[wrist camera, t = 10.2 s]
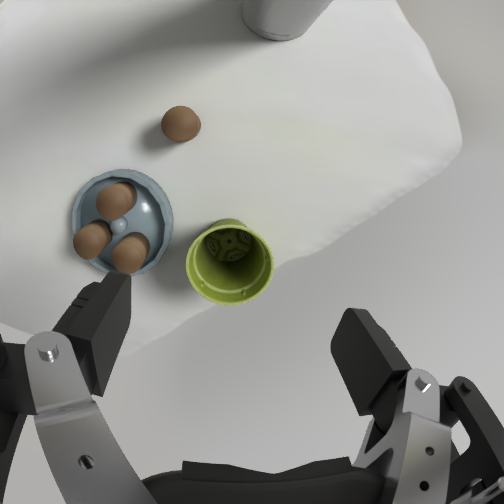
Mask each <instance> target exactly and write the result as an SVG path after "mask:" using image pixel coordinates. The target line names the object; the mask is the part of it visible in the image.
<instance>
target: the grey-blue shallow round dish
mask: <svg viewBox="0 0 504 504" xmlns="http://www.w3.org/2000/svg"><path fill="white" fill-rule="evenodd" d="M120 181H126V182H129V183H131V184H132V185H133V186H134V187H135V189H136V191H137V196H138V197H137V202H136V204H135V206H134V207H133V208H132V209H131V210H129V211H128V212H127V213H126V214H124V215H123V216H122V217H121V218H119V219H117V220H114V221H109V220H106V219H104V218H103V217H101V216H100V214H99V213H98V211H97V208H96V198H97V195H98V193H99V192H100V191H101V190H102V189H104V188H106V187H108V186H110V185H113V184H115V183H118V182H120ZM96 219H101V220H104V221H106V222H107V223H108V224H109V225H110V228H111V231H112V233H113V236H112V240H111V242H110V243H109V244H108V245H107V246H106V248H105V249H104V250H103V251H102V252H101V253H100V254H99V255H98V256H97V257H96V258H94V259H92V260H88V261H89V262H90V263H91V264H92V265H93V266H95V267H97V268H98V269H100V270H101V271H103V272H105V273H106V274H108V272H109V271H115V272H120V271H119V270H117V269H116V268H115V266H114V265H113V262H112V257H111V256H112V251H113V249H114V248H115V247H116V246H117V245H118V244H119V243H120V241H121V240H122V239H123V238H124V237H125V236H126V235H127V234H128V233H131V232H140V233H142V234H143V235H145V236H146V237H147V239H148V240H149V243H150V251H149V254H148V255H147V257H146V259H145V260H144V262H143V264H142V265H141V267H140V269H139V270H138V271H137V272H135V273H133V274H130V275H131V276H134V275H139V274H143V273H145V272H146V271H147V270H149V269H150V268H151V267H153V266H154V265H155V264H157V263H158V262H159V260H160V258H161V256H162V255H163V253H164V252H165V250H166V248H167V246H168V244H169V242H170V239H171V236H172V232H173V213H172V208H171V205H170V202H169V200H168V198H167V196H166V194H165V193H164V191H163V190H162V188H161V187H160V186H159V185H158V184H157V183H156V182H155V181H154V180H153V179H151V178H150V177H148V176H147V175H145V174H143V173H141V172H138V171H135V170H129V169H118V170H113V171H109V172H106V173H104V174H102V175H100V176H97V177H94V178H92V179H91V180H90V181H89V182H88V183H87V184H86V185H85V186H84V187H83V188H82V190H81V191H80V192H79V194H78V196H77V199H76V201H75V204H74V207H73V209H72V231H73V234H74V236H75V234H76V233H77V232H78V231H79V230H81V229H82V228H83V227H85V226H86V225H88V224H89V223H91V222H92V221H93V220H96ZM120 273H122V272H120Z"/></svg>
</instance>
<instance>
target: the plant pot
mask: <svg viewBox="0 0 504 504" xmlns="http://www.w3.org/2000/svg"><path fill="white" fill-rule="evenodd" d="M243 230H244V231H245V232H246V233H247V236H248V239H245V235H244V233H243ZM227 240H231V243H227ZM211 242H213V246H214V248H215V251H213V250H212V248H211V245H210V243H211ZM239 253H240V255H239V256H237V257H235V258H231V257H230V256H233V255H237V254H239ZM273 272H274V258H273V254H272V251H271V249H270V247H269V245H268V244H267V242H266V241H265V240H264V239H263V238H262V237H261V236H260V235H259V234H258V233H256V232H255V231H253V230H251V229H249V228H247V226H246V225H245V224H243V223H242V222H240V221H238V220H235V219H223V220H220V221H218V222H216V223H215V224H213V225H212V226H211V227H210V229H208V230H206V231H205V232H203V233H202V234H201V235H199V236H198V237H197V238H196V239H195V241H194V242H193V243H192V245H191V246H190V248H189V251H188V253H187V257H186V273H187V276H188V279H189V281H190V283H191V285H192V286H193V288H194V289H195V290H196V291H197V292H198V293H199V294H200V295H201V296H203V297H204V298H206V299H207V300H209V301H211V302H214V303H217V304H221V305H239V304H243V303H246V302H249V301H251V300H253V299H255V298H256V297H257V296H259V295H260V294H261V293H262V292H263V291H264V290H265V289H266V287H267V286H268V284H269V283H270V281H271V278H272V276H273Z"/></svg>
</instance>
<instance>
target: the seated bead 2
mask: <svg viewBox="0 0 504 504" xmlns="http://www.w3.org/2000/svg"><path fill="white" fill-rule="evenodd" d="M149 251H150V243H149V240H148V239H147V237H146V236H145V235H143V234H142V233H140V232H131V233H128V234H127V235H126V236H125V237H124V238H123V239H122V240H121V241H120V243H119V244H118V245H117V246H116V247H115V248H114V249H113V251H112V256H111V257H112V262H113V265H114V266H115V268H116V269H117V270H119V271H120V272H122V273H125V274H133V273H135V272H137V271H138V270H139V269H140V267H141V265H142V264H143V262H144V260H145V259H146V257H147V255H148V254H149Z"/></svg>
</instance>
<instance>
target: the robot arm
mask: <svg viewBox="0 0 504 504" xmlns="http://www.w3.org/2000/svg"><path fill="white" fill-rule="evenodd" d="M332 1H333V0H244V1H243V6H242V16H243V20H244V21H245V23H246V25H247V26H248V27H249V28H250V29H251V30H252V31H253V32H255V33H256V34H258V35H260V36H262V37H264V38H267V39H271V40H277V41H286V40H291V39H294V38H297V37H299V36H301V35H302V34H304V33H305V31H306V30H307V29H308V28H309V27H310V26H311V25H312V23H313V22H314V21H315V20H316V19H317V18H318V17H319V16H320V15H321V13H322V12H323V11H324V10H325V9H326V8H327V7H328V6H329V4H330V3H331V2H332ZM130 319H131V275H130V274H125V273H120V272H115V271H109V272H108V274H107V275H106V276H105V278H104V279H103V280H102V282H101V283H99V282H93V283H91V284H89V285H87V286H86V287H84V288H83V289H82V290H81V292H80V293H79V294H78V295H77V298H75V299H74V301H73V302H72V303H71V306H69V307H68V309H67V310H66V312H65V313H64V314H63V316H62V317H61V318H60V320H59V321H58V323H57V324H56V326H55V327H54V328H53V330H52V331H44V332H40V333H38V334H35V335H34V336H32V337H31V338H30V339H29V340H28V341H27V343H26V344H15V343H4V342H3V340H2V337H1V334H0V504H2V503H3V498H4V493H5V487H6V483H7V479H8V475H9V471H10V467H11V463H12V460H13V456H14V453H15V449H16V446H17V443H18V440H19V437H20V434H21V431H22V428H23V425H24V423H25V420H26V417H27V415H34V422H35V426H36V430H37V433H38V436H39V439H40V442H41V445H42V448H43V451H44V454H45V456H46V459H47V462H48V464H49V467H50V469H51V472H52V474H53V476H54V479H55V481H56V483H57V485H58V487H59V489H60V492H61V494H62V496H63V498H64V500H65V502H66V504H504V428H503V426H502V424H501V423H500V421H499V420H498V418H497V417H496V415H495V414H494V412H493V410H492V409H491V407H490V406H489V404H488V403H487V401H486V400H485V399H484V397H483V396H482V394H481V393H480V391H479V390H478V389H477V387H476V386H475V385H474V384H473V382H471V381H470V380H469V379H467V378H465V377H461V376H458V377H456V378H455V379H454V380H453V381H452V383H451V384H450V385H449V386H441V385H439V384H438V382H437V381H436V379H435V378H434V377H433V376H432V375H431V374H430V373H428V372H426V371H424V370H422V369H412V368H411V367H410V365H409V364H408V362H407V361H406V360H405V358H404V357H403V355H402V353H401V352H400V351H399V349H398V348H397V347H395V344H394V342H393V341H392V340H390V339H391V338H390V337H389V336H388V334H387V333H386V331H385V330H384V329H383V328H381V327H380V326H379V325H378V324H377V323H376V321H375V320H374V319H373V318H372V316H371V315H370V313H369V312H368V311H367V310H365V309H356V308H348V309H346V311H345V312H344V314H343V316H342V319H341V321H340V323H339V325H338V327H337V329H336V331H335V334H334V336H333V338H332V341H331V353H332V356H333V358H334V360H335V363H336V365H337V367H338V369H339V371H340V373H341V376H342V378H343V380H344V382H345V384H346V386H347V389H348V391H349V393H350V396H351V398H352V400H353V402H354V404H355V407H356V409H357V411H358V414H359V416H365V415H371V414H372V415H373V417H374V418H373V419H372V420H371V421H370V423H369V425H368V428H367V431H366V434H365V437H364V440H363V443H362V446H361V448H360V451H359V454H358V456H357V459H356V461H355V462H354V464H353V465H351V462H350V459H349V457H342V458H336V459H329V460H322V461H315V462H311V463H308V464H306V465H303V466H300V467H297V468H294V469H290V470H287V471H284V472H281V473H276V474H270V473H265V472H259V471H254V470H249V469H245V468H240V467H236V466H232V465H227V464H210V463H199V462H189V461H183V463H182V470H180V471H170V472H165V473H160V474H157V475H153V476H150V477H148V478H145V479H143V480H140V479H139V477H138V476H137V474H136V473H135V471H134V470H133V468H132V466H131V465H130V463H129V462H128V460H127V459H126V457H125V455H124V454H123V452H122V450H121V449H120V447H119V445H118V443H117V442H116V440H115V438H114V436H113V434H112V433H111V431H110V429H109V427H108V425H107V423H106V421H105V419H104V417H103V415H102V413H101V411H100V409H99V407H98V405H97V403H96V402H95V401H93V399H92V397H91V395H92V394H94V395H97V396H101V397H103V394H104V391H105V388H106V385H107V383H108V380H109V377H110V374H111V372H112V369H113V366H114V363H115V361H116V358H117V356H118V353H119V350H120V348H121V345H122V343H123V340H124V338H125V335H126V333H127V330H128V328H129V324H130ZM458 420H460V421H461V423H462V424H463V426H464V428H465V430H466V431H467V433H468V435H469V437H470V446H469V448H468V449H467V450H466V451H465V452H464V453H463V454H462V455H461V456H460V455H459V453H458V451H457V449H456V447H455V445H454V443H453V442H452V439H451V428H452V427H453V426H454V425H455V424H456V423H457V422H458ZM481 479H482V480H481ZM480 480H481V481H480Z"/></svg>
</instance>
